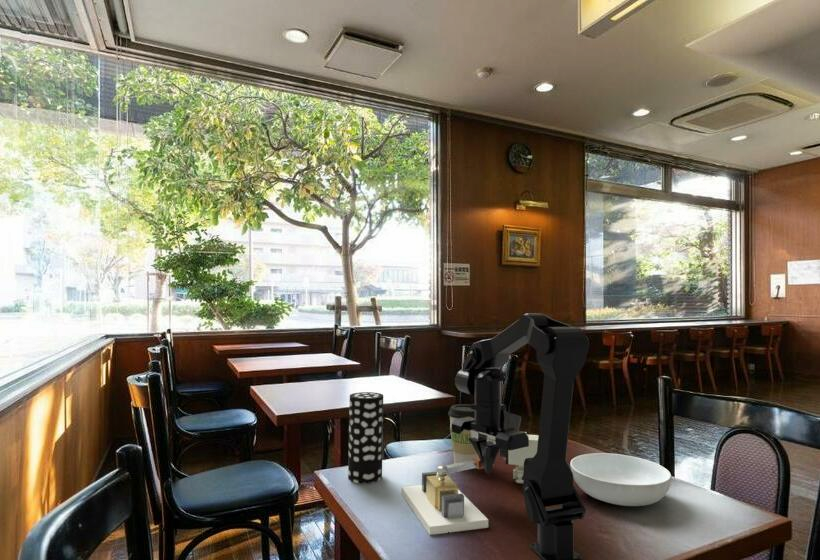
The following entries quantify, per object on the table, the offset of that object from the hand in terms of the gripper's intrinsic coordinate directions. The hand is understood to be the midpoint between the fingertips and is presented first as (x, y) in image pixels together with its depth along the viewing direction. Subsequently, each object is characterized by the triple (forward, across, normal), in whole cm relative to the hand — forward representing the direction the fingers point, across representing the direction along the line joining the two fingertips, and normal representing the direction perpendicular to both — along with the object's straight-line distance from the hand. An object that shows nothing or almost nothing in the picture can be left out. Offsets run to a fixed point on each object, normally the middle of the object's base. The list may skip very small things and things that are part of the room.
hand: (488, 472), depth 106 cm
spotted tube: (+6, +28, +15) cm, 32 cm away
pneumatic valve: (+7, +5, -16) cm, 18 cm away
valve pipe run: (+5, +3, +10) cm, 12 cm away
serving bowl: (+7, -13, -27) cm, 31 cm away
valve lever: (0, +3, +4) cm, 5 cm away
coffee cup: (+6, +22, -12) cm, 26 cm away
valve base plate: (+6, +3, +10) cm, 13 cm away
